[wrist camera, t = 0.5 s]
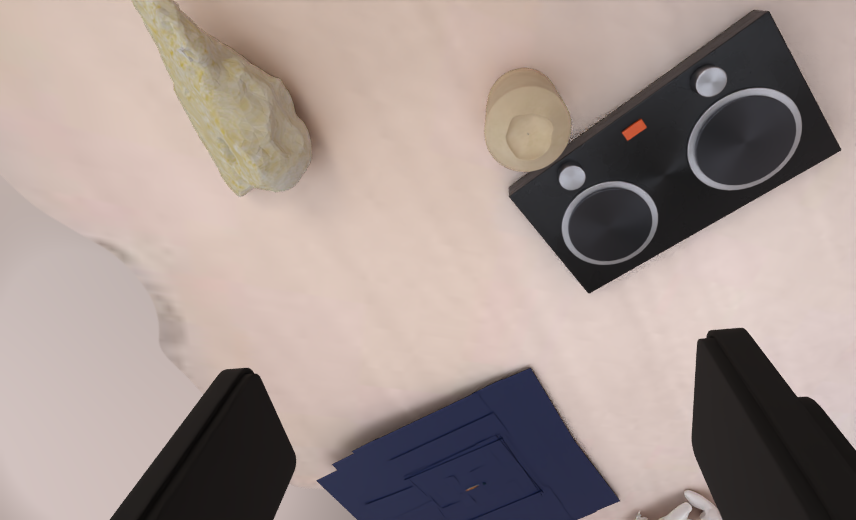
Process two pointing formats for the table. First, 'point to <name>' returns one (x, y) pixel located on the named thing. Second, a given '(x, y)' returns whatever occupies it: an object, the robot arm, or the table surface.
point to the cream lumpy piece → (230, 104)
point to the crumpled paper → (678, 516)
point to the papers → (475, 463)
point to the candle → (526, 121)
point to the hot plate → (679, 155)
